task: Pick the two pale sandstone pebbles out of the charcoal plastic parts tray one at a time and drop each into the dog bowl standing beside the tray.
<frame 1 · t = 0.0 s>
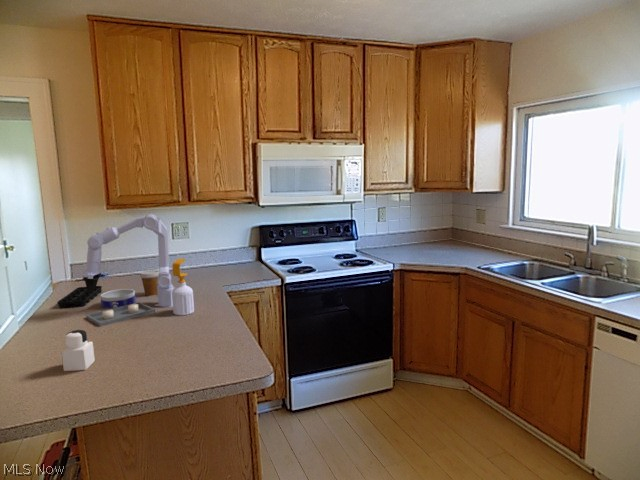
hand: (91, 290, 202), 11 cm above the worktop, tool pointing down, fingers open, 7 cm apart
egg carton: (81, 300, 225), on the worktop
parts tray: (121, 316, 198), on the worktop
pebble a: (108, 318, 194), resting on parts tray
pebble b: (133, 312, 201), resting on parts tray
dog bowl: (119, 305, 215), on the worktop
medicine bottle: (79, 366, 147), on the worktop
disposable coffee cup: (151, 294, 231), on the worktop
soap bottle: (184, 313, 201), on the worktop
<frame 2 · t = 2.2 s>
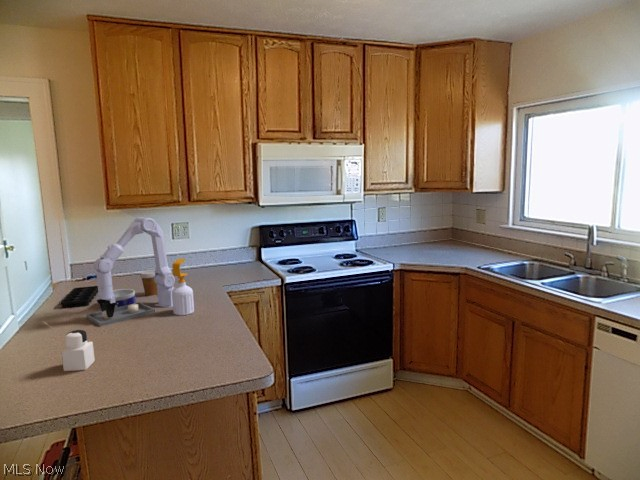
hand: (108, 315, 193), 2 cm above the worktop, tool pointing down, fingers closed on pebble a, 4 cm apart
pebble a: (108, 318, 194), resting on parts tray, touching gripper
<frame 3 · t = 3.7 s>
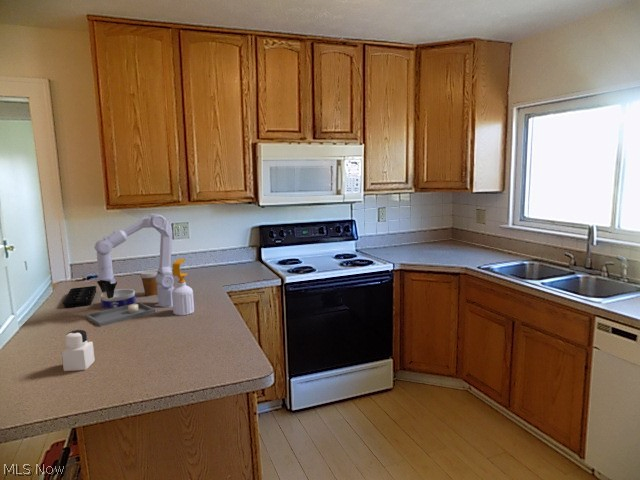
hand: (108, 296, 197), 9 cm above the worktop, tool pointing down, fingers closed on pebble a, 4 cm apart
pebble a: (108, 299, 197), point 8 cm above the worktop, touching gripper
when the fingers open (7 cm above the worktop, at t = 5.3 s): pebble a stays where it is, resting on dog bowl.
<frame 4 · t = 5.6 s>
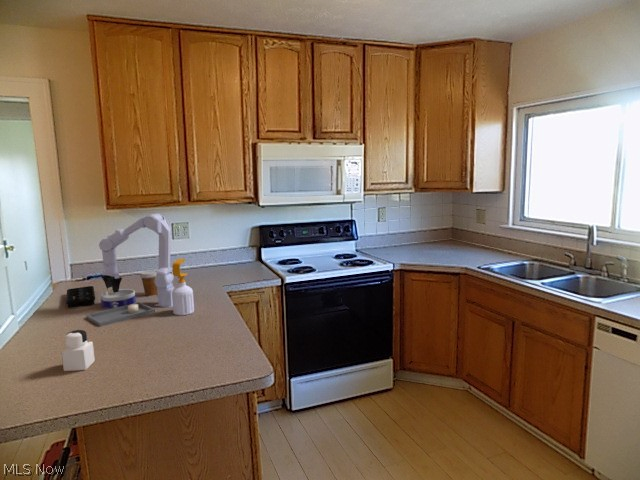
hand: (112, 290, 212), 7 cm above the worktop, tool pointing down, fingers open, 7 cm apart
pebble a: (113, 294, 213), point 6 cm above the worktop, touching dog bowl
dog bowl: (119, 305, 215), on the worktop, touching pebble a
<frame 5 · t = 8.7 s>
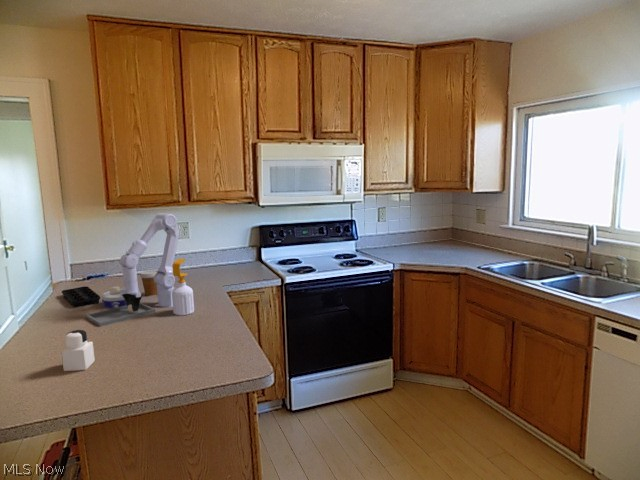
hand: (133, 309, 201), 2 cm above the worktop, tool pointing down, fingers closed on pebble b, 4 cm apart
pebble b: (133, 312, 201), resting on parts tray, touching gripper
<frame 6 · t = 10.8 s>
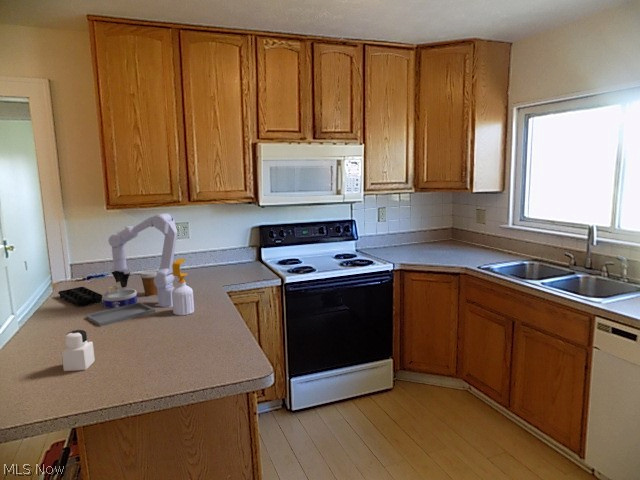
hand: (122, 286, 214), 9 cm above the worktop, tool pointing down, fingers closed on pebble b, 4 cm apart
pebble a: (112, 293, 214), point 6 cm above the worktop, touching dog bowl
pebble b: (121, 288, 214), point 8 cm above the worktop, touching gripper
when the fingers open (7 cm above the worktop, at t = 11.7 s): pebble b moves 2 cm, resting on dog bowl.
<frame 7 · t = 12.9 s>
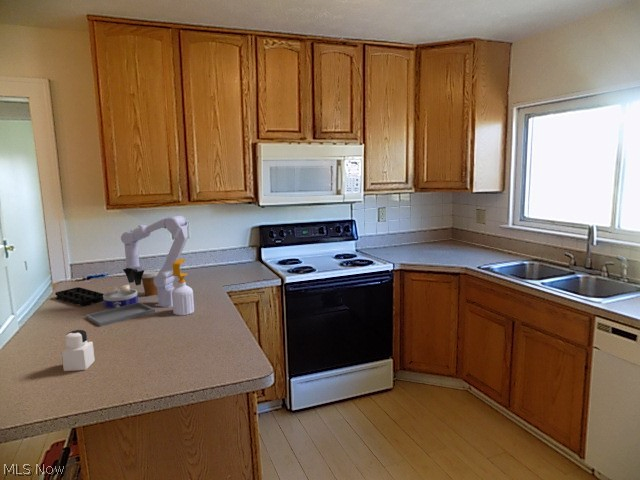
hand: (134, 283, 214), 10 cm above the worktop, tool pointing down, fingers open, 7 cm apart
pebble b: (125, 292, 215), point 6 cm above the worktop, tilted 6°, touching dog bowl
dog bowl: (121, 305, 215), on the worktop, touching pebble a, pebble b
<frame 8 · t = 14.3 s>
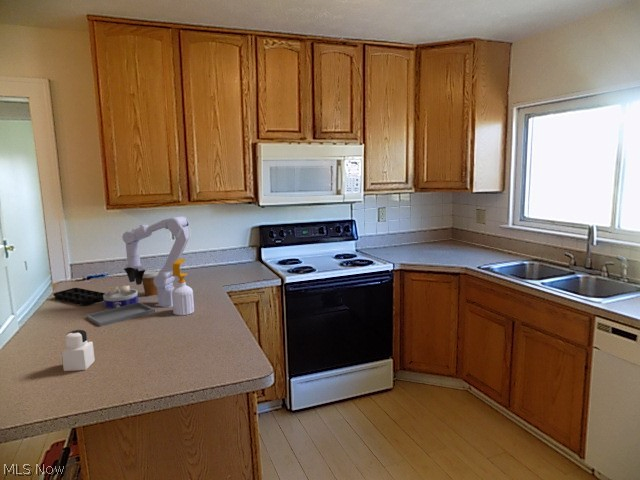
hand: (135, 283, 214), 10 cm above the worktop, tool pointing down, fingers open, 7 cm apart
pebble b: (125, 292, 215), point 6 cm above the worktop, touching dog bowl
at the end: pebble a 3.1 cm from the dog bowl (horizontally); pebble b 2.2 cm from the dog bowl (horizontally); dog bowl moved 1.4 cm from its start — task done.
